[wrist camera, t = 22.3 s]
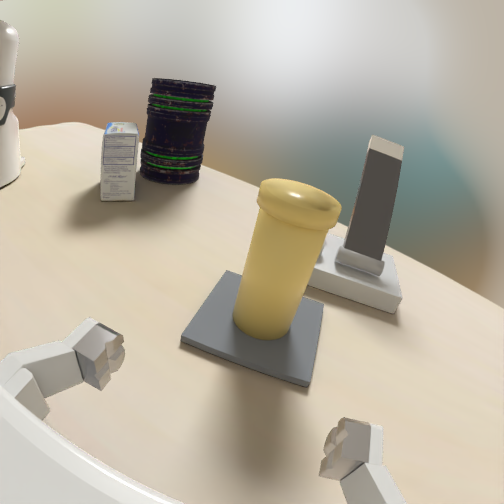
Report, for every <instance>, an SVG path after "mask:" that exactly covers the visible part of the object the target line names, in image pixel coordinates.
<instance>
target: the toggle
mask: <svg viewBox="0 0 504 504" xmlns="http://www.w3.org/2000/svg"><path fill="white" fill-rule="evenodd" d="M403 151H404V147H403V146H401V145H398V144H396V143H393V142H391V141H388V140H385V139H383V138H380V137H378V136H375V135H372V137H371V139H370V141H369V146H368V150H367V155H366V159H365V164H364V168H363V172H362V176H361V180H360V185H359V188H358V192H357V197H356V200H355V204H354V208H353V212H352V215H351V219H350V223H349V226H348V230H347V233H346V237H345V240H344V244H343V246H339V248H338V250H337V253H336V256H335V261H337V262H339V263H342V264H345V265H348V266H351V267H354V268H357V269H359V270H362V271H365V272H368V273H371V274H374V275H376V276H380V275H381V274H382V272H383V269H384V265H385V262H384V261H382V256H383V252H384V248H385V244H386V239H387V235H388V231H389V226H390V221H391V217H392V212H393V207H394V202H395V197H396V192H397V187H398V181H399V175H400V169H401V163H402V157H403Z"/></svg>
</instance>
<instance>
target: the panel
mask: <svg viewBox="0 0 504 504" xmlns="http://www.w3.org/2000/svg"><path fill="white" fill-rule="evenodd" d="M344 240H345V239H344V238H341V237H338V236H335V235H332V234H329V233H327V235H326V238H325V241H324V243H323V246H322V249H321V251H320V254H319V256H318V259H317V262H316V264H315V267H314V269H313V272H312V274H311V277H310V279H309V282H308V284H307V285H309V286H312V287H315V288H318V289H321V290H324V291H327V292H330V293H332V294H335V295H338V296H341V297H344V298H347V299H350V300H353V301H356V302H359V303H362V304H365V305H368V306H371V307H374V308H377V309H380V310H383V311H386V312H389V313H392V314H394V312H395V311H396V309H397V307H398V305H399V304H400V302H401V300H402V294H401V289H400V285H399V280H398V276H397V272H396V268H395V264H394V260H393V256H391V255H388V254H385V253H383V256H382V261H384V262H385V265H384V269H383V272H382V274H381V275H380V276H376V275H374V274H371V273H368V272H365V271H362V270H359V269H357V268H354V267H351V266H348V265H345V264H342V263H339V262H337V261H335V256H336V253H337V250H338V248H339V246H343V244H344Z"/></svg>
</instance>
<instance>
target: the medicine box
mask: <svg viewBox="0 0 504 504" xmlns="http://www.w3.org/2000/svg"><path fill="white" fill-rule="evenodd" d="M138 143H139V133H138V128H137V124H136V123H126V122H114V123H107V127H106V130H105V133H104V135H103V142H102V156H101V201H133V200H134V193H135V177H136V165H137V153H138Z"/></svg>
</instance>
